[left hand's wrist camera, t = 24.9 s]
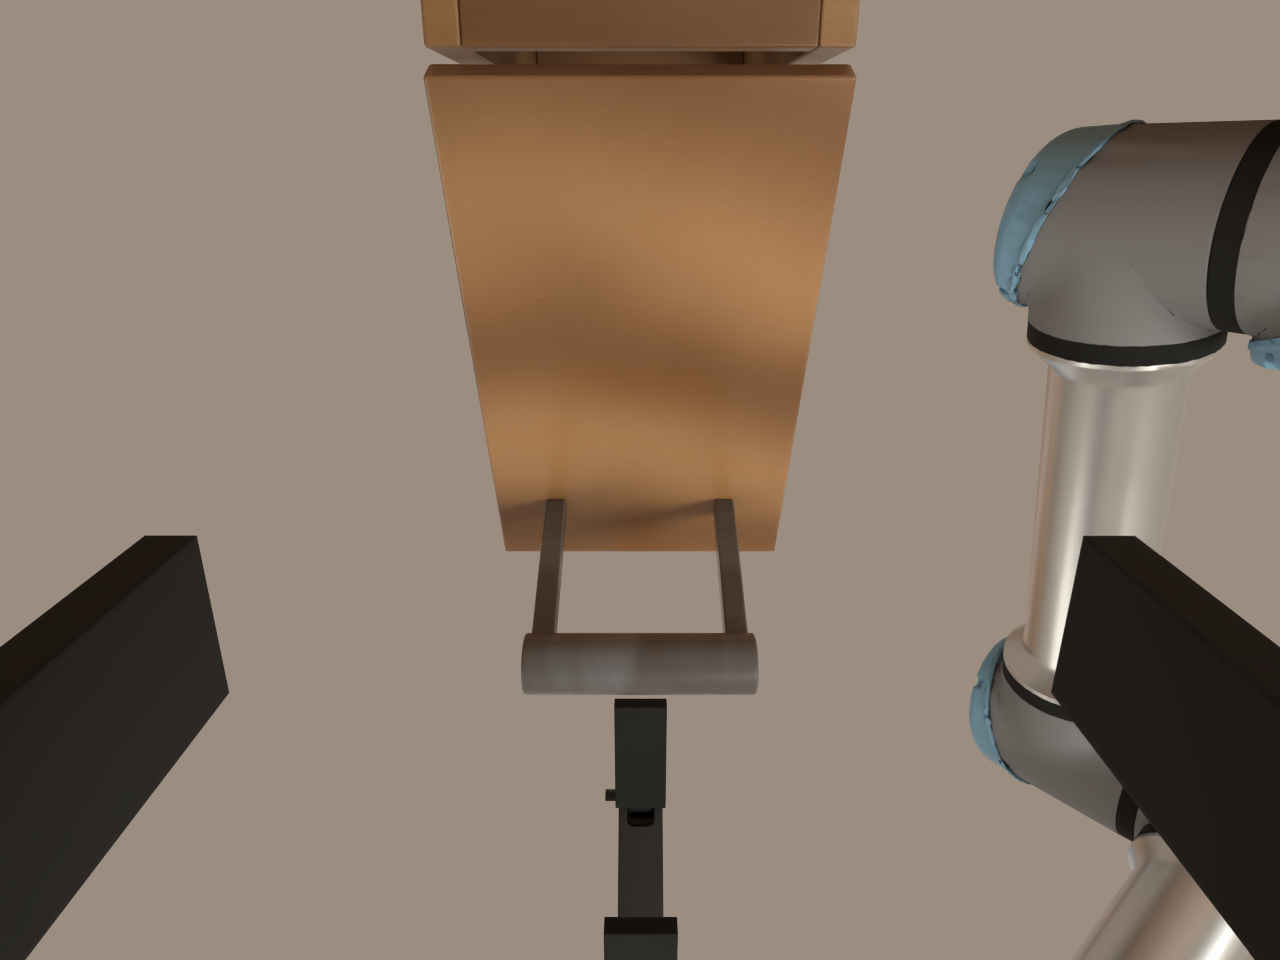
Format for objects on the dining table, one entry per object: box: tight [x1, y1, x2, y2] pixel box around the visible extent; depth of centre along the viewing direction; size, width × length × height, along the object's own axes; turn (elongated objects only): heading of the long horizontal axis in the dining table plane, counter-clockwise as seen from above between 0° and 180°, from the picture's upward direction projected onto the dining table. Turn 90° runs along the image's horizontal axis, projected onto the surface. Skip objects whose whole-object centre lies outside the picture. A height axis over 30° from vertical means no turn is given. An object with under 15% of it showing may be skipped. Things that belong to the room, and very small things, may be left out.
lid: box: [424, 64, 856, 695], centre depth 24 cm, size 18×10×8 cm
